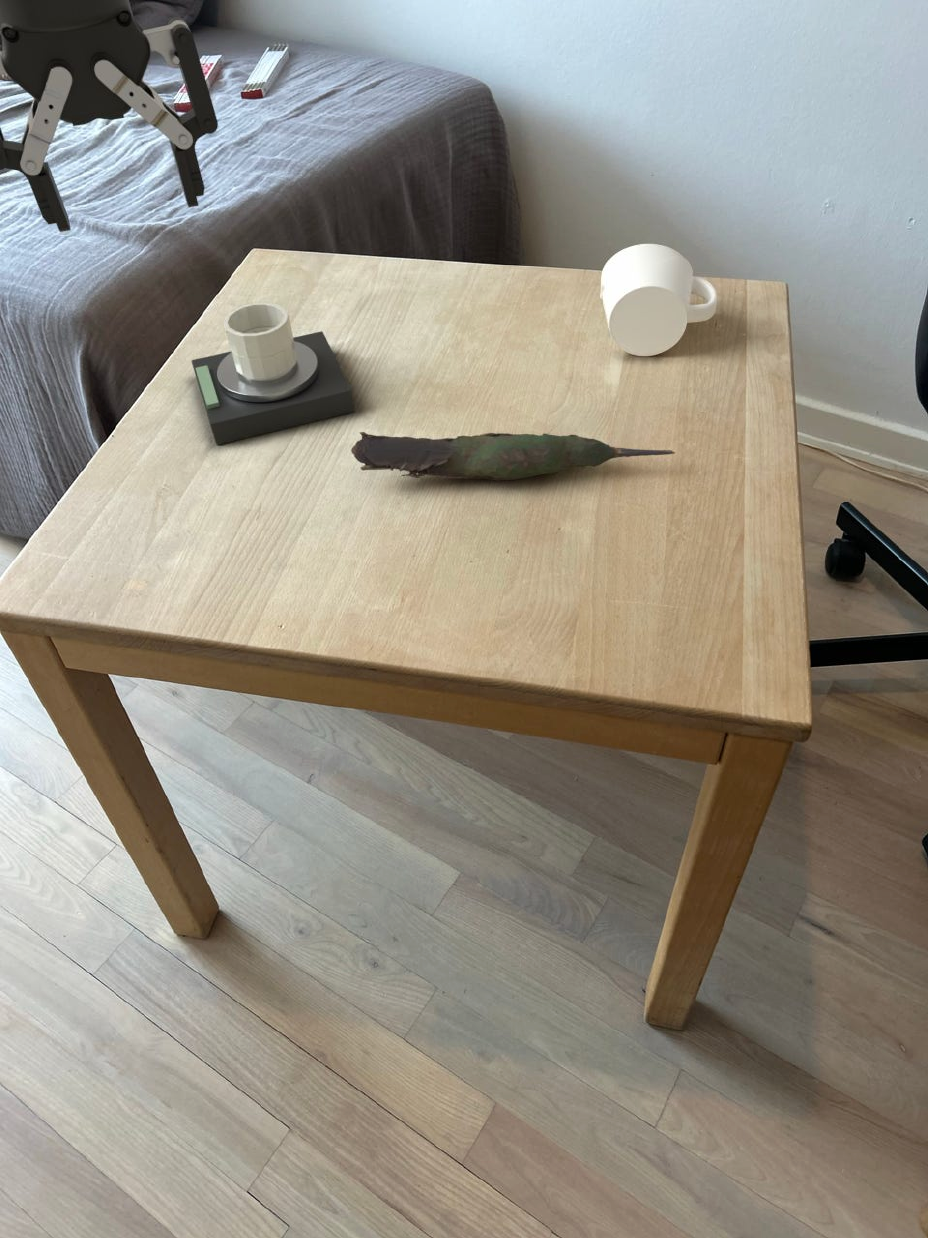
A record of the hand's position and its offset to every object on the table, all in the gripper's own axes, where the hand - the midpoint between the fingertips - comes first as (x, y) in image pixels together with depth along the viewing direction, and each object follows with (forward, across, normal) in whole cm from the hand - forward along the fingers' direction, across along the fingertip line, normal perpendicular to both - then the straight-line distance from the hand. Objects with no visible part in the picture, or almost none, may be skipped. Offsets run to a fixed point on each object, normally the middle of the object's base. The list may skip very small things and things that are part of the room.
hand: (129, 214), depth 60 cm
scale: (+26, -8, -15) cm, 31 cm away
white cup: (+23, -8, -15) cm, 28 cm away
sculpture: (+26, -26, +6) cm, 37 cm away
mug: (+26, -49, -10) cm, 57 cm away
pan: (+23, -8, -15) cm, 29 cm away
